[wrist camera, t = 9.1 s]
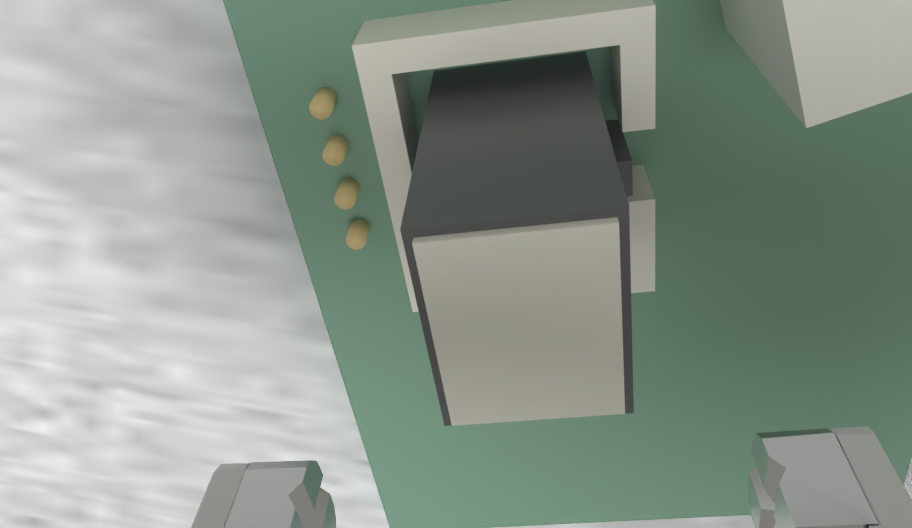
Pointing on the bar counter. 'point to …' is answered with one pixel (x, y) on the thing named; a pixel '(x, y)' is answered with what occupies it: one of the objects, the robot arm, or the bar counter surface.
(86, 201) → the bar counter surface
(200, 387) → the bar counter surface
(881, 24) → the plug
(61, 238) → the bar counter surface
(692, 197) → the board
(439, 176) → the plug
